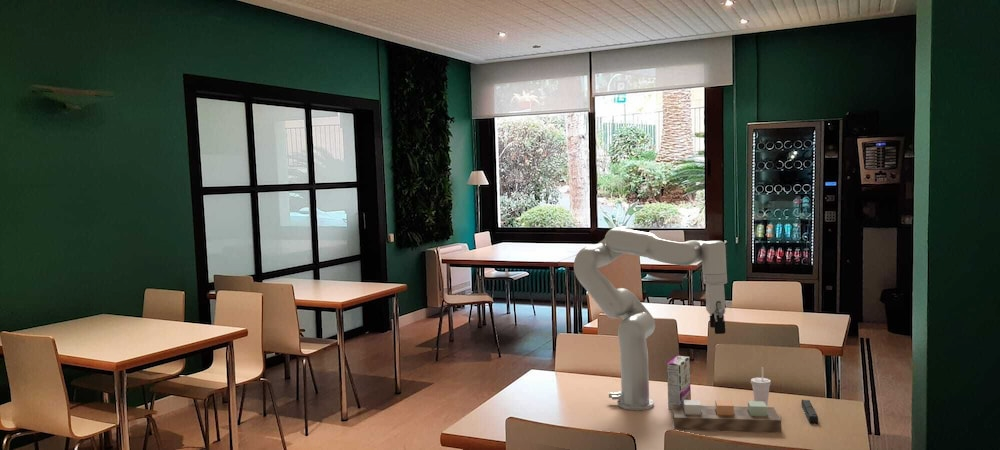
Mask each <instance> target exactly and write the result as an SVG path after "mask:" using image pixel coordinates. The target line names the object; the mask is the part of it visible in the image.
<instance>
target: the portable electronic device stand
mask: <svg viewBox="0 0 1000 450" xmlns="http://www.w3.org/2000/svg"><path fill="white" fill-rule="evenodd" d="M801 406H802V407H801V408H803V409H802V411H803V410H804V411H803V413H804V412H805V413H804V415H805V417H806V419H807V422H808V424H809V425H819V416H818V415H817V414H818V413H817V411H816V410H815V408H814V405H813V404H812V402H811V400H810V399H801Z"/></svg>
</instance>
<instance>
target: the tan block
mask: <svg viewBox="0 0 1000 450" xmlns="http://www.w3.org/2000/svg"><path fill="white" fill-rule="evenodd" d="M715 406H716V415H732V416H734V406H735V405H734V403H733V401H732V400H716V399H715Z"/></svg>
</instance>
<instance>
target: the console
mask: <svg viewBox="0 0 1000 450" xmlns="http://www.w3.org/2000/svg"><path fill="white" fill-rule="evenodd" d="M671 413H672V415H671V416H672V417H671V418H672V423H673V428H674V430H675V429H677V430H676V431H700V432H704V431H706V432H730V433H731V432H732V433H733V432H736V433H739V432H741V433H766V434H767V433H769V434H771V433H772V434H782V428H783V427H782V419H781V417H780V415H779V414H778V412H777V411H776V409H775V408H774V406H773V407H772V406H770V407H769V406H767V416H749V414H748V406H739V405H738V406H735V405H734V416H732V415H716V405H701V415H693V414H684V405H672V410H671Z"/></svg>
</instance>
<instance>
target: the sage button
mask: <svg viewBox="0 0 1000 450" xmlns="http://www.w3.org/2000/svg"><path fill="white" fill-rule="evenodd" d="M747 407H748V414H749V416H767V407H768V405H767V406H766V404H765V402H763V401H754V400H748V401H747Z"/></svg>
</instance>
